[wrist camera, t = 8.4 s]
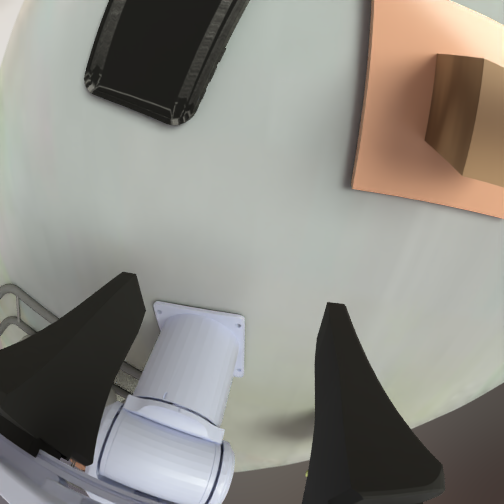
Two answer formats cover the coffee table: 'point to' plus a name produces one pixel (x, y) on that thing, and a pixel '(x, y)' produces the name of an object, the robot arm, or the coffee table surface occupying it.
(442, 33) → the terracotta tile
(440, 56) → the walnut cube
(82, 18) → the coffee table surface
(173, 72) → the phone
